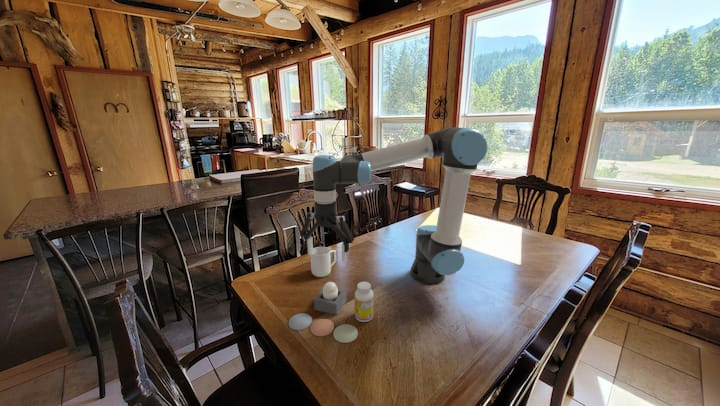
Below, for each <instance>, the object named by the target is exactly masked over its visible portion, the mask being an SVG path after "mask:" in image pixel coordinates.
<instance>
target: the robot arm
mask: <svg viewBox="0 0 720 406" xmlns="http://www.w3.org/2000/svg"><path fill="white" fill-rule="evenodd" d="M487 153H488V141H487V139H486V137H485V135H484V134H483V133H482V132H481V131H479V130H477V129H474V128H472V127H457V126H455V127H454V126H453V127H451V126H450V127H447V128H444V129H441V130H436V131H433V132H431V133H427V134H424V135H423V137H421V138H419V139H413V140H410V141H406V142H402V143H397V144H394V145H390V146H386V147H382V148H378V149H374V150H370V151H365V152H362V153H358V154H353V155H350V154H348V155H347V154H346V155H345V156H343V157H342V158H341V159H340V161H337V160H336V156H334V155H330V154H329V155H327V154H322V155H316V156H314V157H313V159H312V178H313V179H312V180H313V181H312V182H313V200H314V212H313V211H309V212H308V213H306V219H305V222H304V223H303V226H302V229H301V231H300V234H299V236H300V237H304V242H305V244H304V245H305V246H306V247H307V256H309V257H311V256H310V255H311V254H312V253H313V248H314V245H313V243H314V240H313V239H314V238H313V236H312V234H313V233H315V231H316V230H317V229H318V228H319V226H320V227H321V228H328V229H331V230H333V231H334V232H335V234H336V236H338V238H339V239H340V241H342V244H341V261H342V262H345V261H346V260H347V258H348V255H347V254H348V252H349V251H350V244H352V243H353V242H354V241H355V237H354V236H353V233H352V231H351V229H350V227H349V224H348V223H347V221H346V216H345V214H343V215H338V214H337V201H336V200H337V185H344V184H345V185H350V184H351V185H353V184H354V185H356V184H360V185H361V184H362V185H363V184H368V183H370V182H371V180H372V171H376V170H381V169H386V168H390V167H393V166H397V165H398V166H399V165H401V164H406V163H410V162H414V161H418V160H421V159H425V158H427V159H428V160H432V159H436V158H443V159H442V167H443V168H444V170H445V173H444V174H445V175H444V180H443V187H442V191H441V198H440V204H439V211H438V216H437V222H436V225H433V224H430V225H429V224H426V225H421V226H419V227H418V228H417V229H416V234H415V235H416V240H415V241H416V242H415V258H414V259H413V260H414V261H413V262H412V264H411V267H410V276H411V277H412V279H414V280H415V281H417V282H418V283H422V284H427V285H428V284H430V285H433V284H434V285H436V284H440V283H443V281H445V279H446V276H451V275H454V274H456V273H457V272H459V271H460V270H461V269H462V268H463V266H464V264H465V257H464V256H465V255H464V253H463V252H462V251H461V249H462V246H463V245H462V244H463V239H462V238H461V237H460V231H461V228H462V227H461V226H462V223H463V217H464V213H465V207H466V201H467V196H468V190H469V186H470V181H471V176H472V174H473V173H475V171H477V169H478V164H479V163H481V161H482V160H484V159H485V157H486V155H487ZM313 219H315V221H316V222H315V223H314V224H313V225H312V227H310V225H311V223H312V221H313ZM337 221H338V222H337ZM339 224H340V226H339ZM309 227H310V229H309ZM308 229H309V230H308Z"/></svg>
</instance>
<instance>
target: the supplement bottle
mask: <svg viewBox="0 0 720 406" xmlns="http://www.w3.org/2000/svg"><path fill="white" fill-rule="evenodd" d="M374 295H375V293H374V291H373V290H372V285H371V283H369V282H368V281H361V282H359V283H358V284H357V287H356V290H355V292H354V318H355V320H357V321H358V322H362V323H366V322H370V321H371V320H373V318H374V303H375V302H374V300H375V299H374V298H375V296H374Z"/></svg>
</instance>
